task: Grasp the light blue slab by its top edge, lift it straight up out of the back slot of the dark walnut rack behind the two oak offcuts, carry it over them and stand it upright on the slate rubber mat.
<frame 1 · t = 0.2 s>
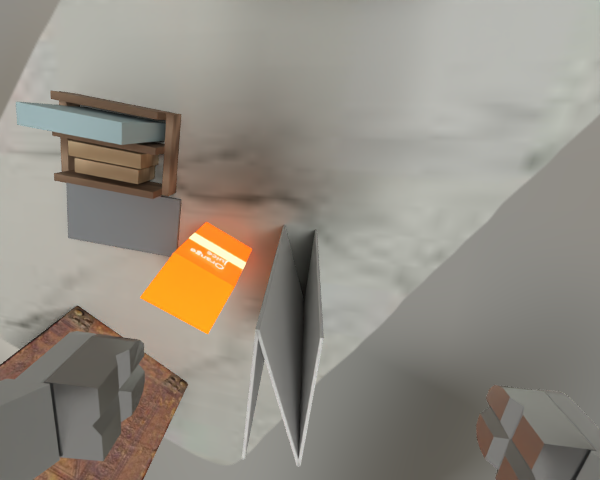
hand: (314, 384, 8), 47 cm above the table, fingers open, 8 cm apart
orange juice: (219, 252, 58), on the table
rack: (126, 144, 52), on the table
book: (122, 360, 66), on the table
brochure: (294, 266, 58), on the table
light blue slab: (127, 123, 51), resting in rack
offcut b: (126, 166, 54), resting in rack
offcut a: (126, 151, 53), resting in rack
mat: (124, 218, 56), on the table
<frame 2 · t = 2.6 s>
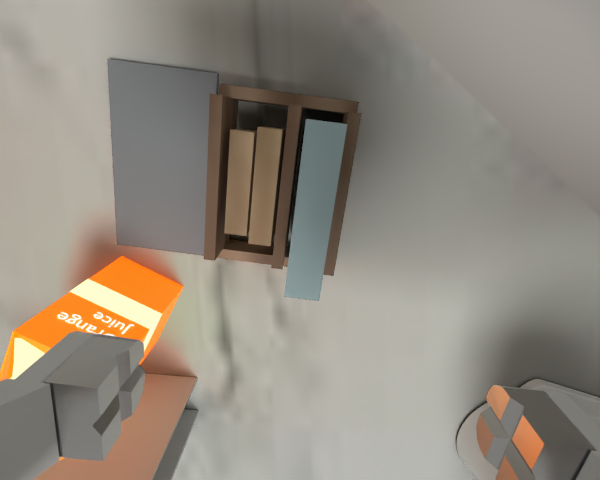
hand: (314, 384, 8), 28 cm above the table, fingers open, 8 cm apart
orange juice: (140, 300, 40), on the table
rack: (283, 180, 35), on the table
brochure: (143, 389, 44), on the table
light blue slab: (312, 184, 35), resting in rack
offcut b: (249, 176, 35), resting in rack
offcut a: (272, 179, 35), resting in rack
mat: (165, 165, 34), on the table
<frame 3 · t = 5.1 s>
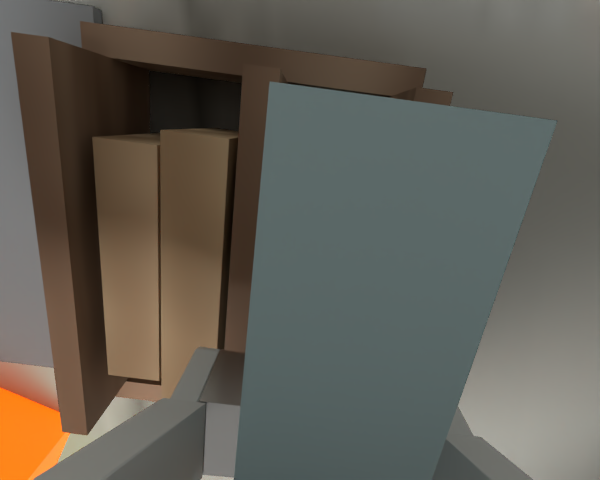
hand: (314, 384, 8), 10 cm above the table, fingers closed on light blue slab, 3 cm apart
orange juice: (3, 438, 22), on the table
rack: (252, 238, 17), on the table
light blue slab: (311, 245, 17), resting in rack, touching gripper
offcut b: (184, 228, 17), resting in rack
offcut a: (230, 234, 17), resting in rack
mat: (11, 206, 17), on the table
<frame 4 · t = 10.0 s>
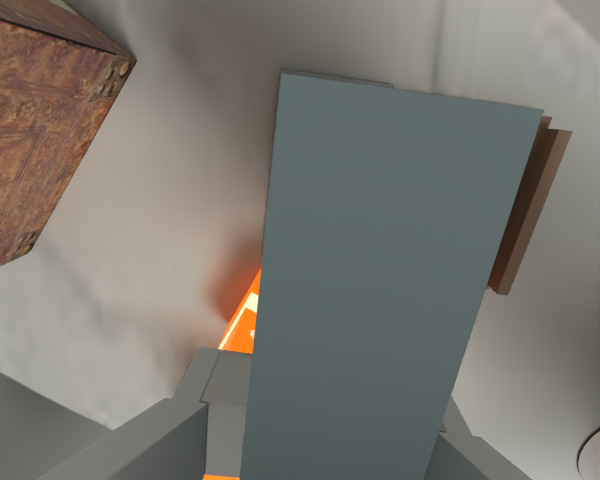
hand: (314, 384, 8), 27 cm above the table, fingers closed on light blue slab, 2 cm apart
orange juice: (274, 310, 40), on the table
rack: (442, 194, 34), on the table
book: (38, 137, 34), on the table
light blue slab: (312, 246, 17), point 18 cm above the table, touching gripper
mat: (321, 176, 34), on the table
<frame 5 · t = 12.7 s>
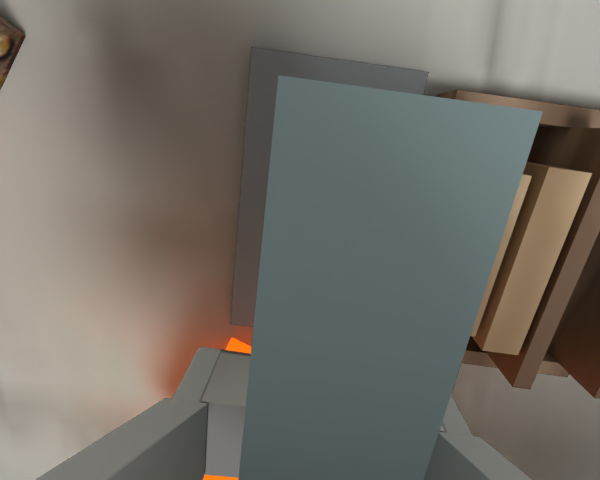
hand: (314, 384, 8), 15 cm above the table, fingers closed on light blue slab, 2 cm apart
orange juice: (251, 394, 28), on the table
rack: (495, 236, 23), on the table
light blue slab: (312, 247, 17), point 6 cm above the table, touching gripper
offcut b: (443, 229, 23), resting in rack
offcut a: (477, 233, 23), resting in rack
mat: (316, 212, 23), on the table
when the fingers open (12 cm above the table, at t = 14.8 s): light blue slab drops 1 cm, resting on mat.
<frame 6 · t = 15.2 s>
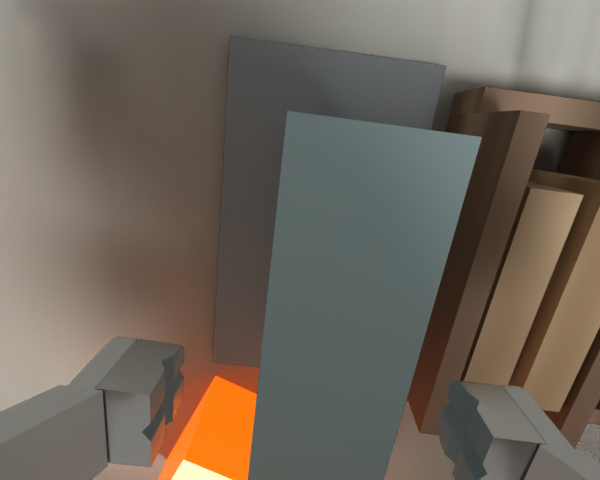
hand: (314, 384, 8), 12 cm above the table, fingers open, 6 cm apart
orange juice: (239, 438, 24), on the table
rack: (522, 260, 19), on the table
light blue slab: (312, 239, 19), point 1 cm above the table, touching mat
offcut b: (461, 251, 19), resting in rack
offcut a: (501, 256, 19), resting in rack
mat: (311, 233, 19), on the table
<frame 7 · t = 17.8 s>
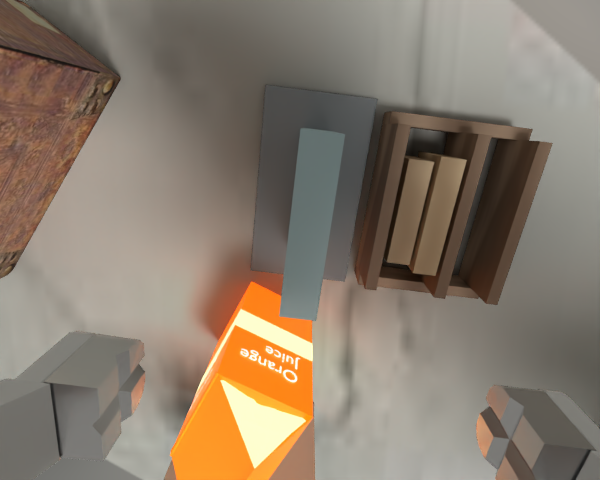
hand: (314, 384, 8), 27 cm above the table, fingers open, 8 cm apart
orange juice: (264, 325, 39), on the table
rack: (428, 205, 34), on the table
book: (20, 155, 34), on the table
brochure: (255, 414, 43), on the table
light blue slab: (309, 193, 33), point 1 cm above the table, touching mat
offcut b: (394, 201, 34), resting in rack
offcut a: (416, 203, 34), resting in rack
mat: (308, 190, 34), on the table
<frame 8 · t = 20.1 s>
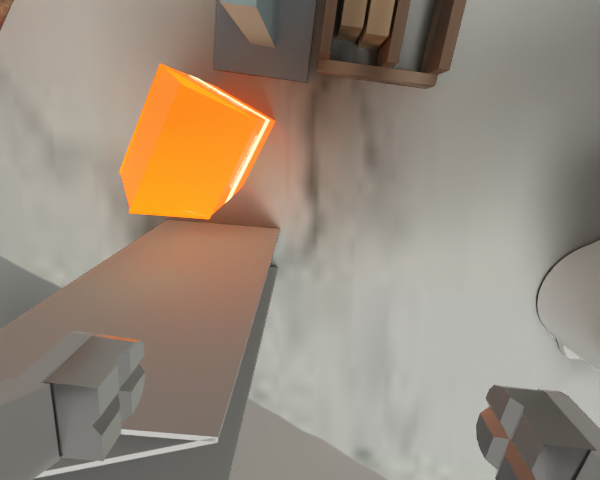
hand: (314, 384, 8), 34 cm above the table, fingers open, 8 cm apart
orange juice: (229, 139, 40), on the table
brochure: (223, 244, 44), on the table
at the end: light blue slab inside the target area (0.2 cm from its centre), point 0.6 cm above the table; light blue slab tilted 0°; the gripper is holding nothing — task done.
